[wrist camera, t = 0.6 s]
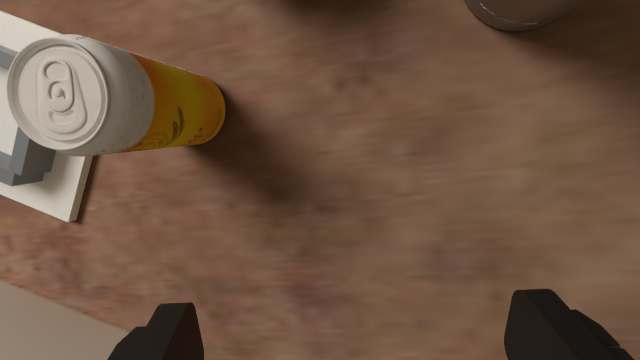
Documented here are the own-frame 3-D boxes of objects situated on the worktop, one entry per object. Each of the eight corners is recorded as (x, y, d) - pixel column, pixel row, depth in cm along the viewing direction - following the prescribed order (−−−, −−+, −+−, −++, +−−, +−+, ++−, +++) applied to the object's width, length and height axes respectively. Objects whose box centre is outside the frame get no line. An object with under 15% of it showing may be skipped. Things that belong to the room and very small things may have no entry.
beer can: (166, 145, 33) (8, 160, 18) (159, 75, 32) (-12, 32, 17) (231, 143, 32) (121, 156, 18) (226, 72, 31) (107, 23, 17)
